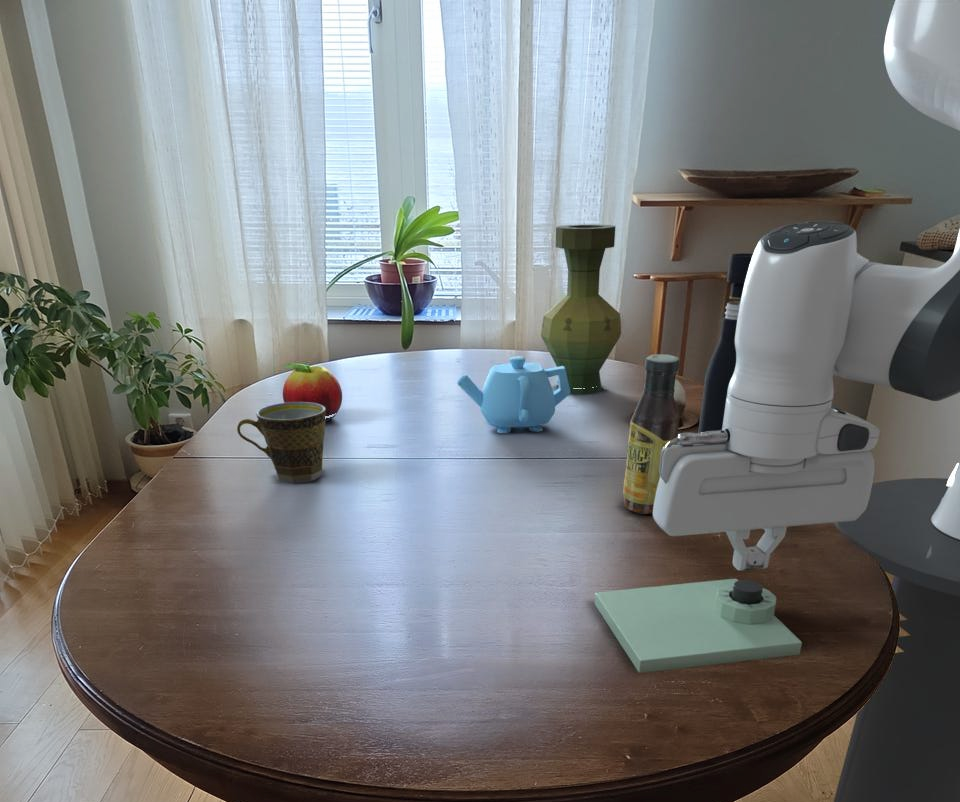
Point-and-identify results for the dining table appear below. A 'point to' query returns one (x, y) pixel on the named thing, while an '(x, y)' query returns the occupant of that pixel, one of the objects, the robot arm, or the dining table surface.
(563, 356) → the vase
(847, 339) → the robot arm
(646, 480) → the sauce bottle
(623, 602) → the green panel with knob
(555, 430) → the dining table surface
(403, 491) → the dining table surface
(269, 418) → the ceramic cup
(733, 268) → the navy water bottle
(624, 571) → the dining table surface
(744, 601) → the button
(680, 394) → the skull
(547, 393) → the teapot
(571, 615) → the dining table surface
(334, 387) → the fruit
